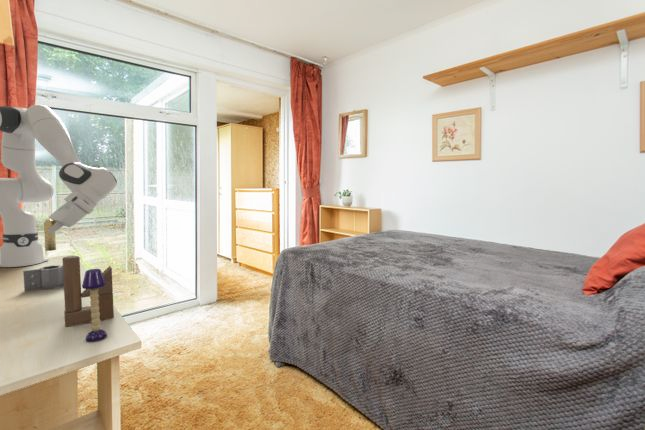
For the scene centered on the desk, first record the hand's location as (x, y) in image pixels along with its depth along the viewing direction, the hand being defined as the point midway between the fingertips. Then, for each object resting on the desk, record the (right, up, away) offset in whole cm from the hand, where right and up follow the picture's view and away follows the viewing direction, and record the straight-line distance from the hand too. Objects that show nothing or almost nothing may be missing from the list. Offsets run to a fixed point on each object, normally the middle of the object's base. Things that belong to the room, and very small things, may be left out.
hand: (47, 232), depth 118 cm
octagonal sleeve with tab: (0, -20, +2) cm, 20 cm away
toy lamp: (+43, -24, -37) cm, 61 cm away
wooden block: (+34, -23, -27) cm, 49 cm away
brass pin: (0, -6, +1) cm, 6 cm away
